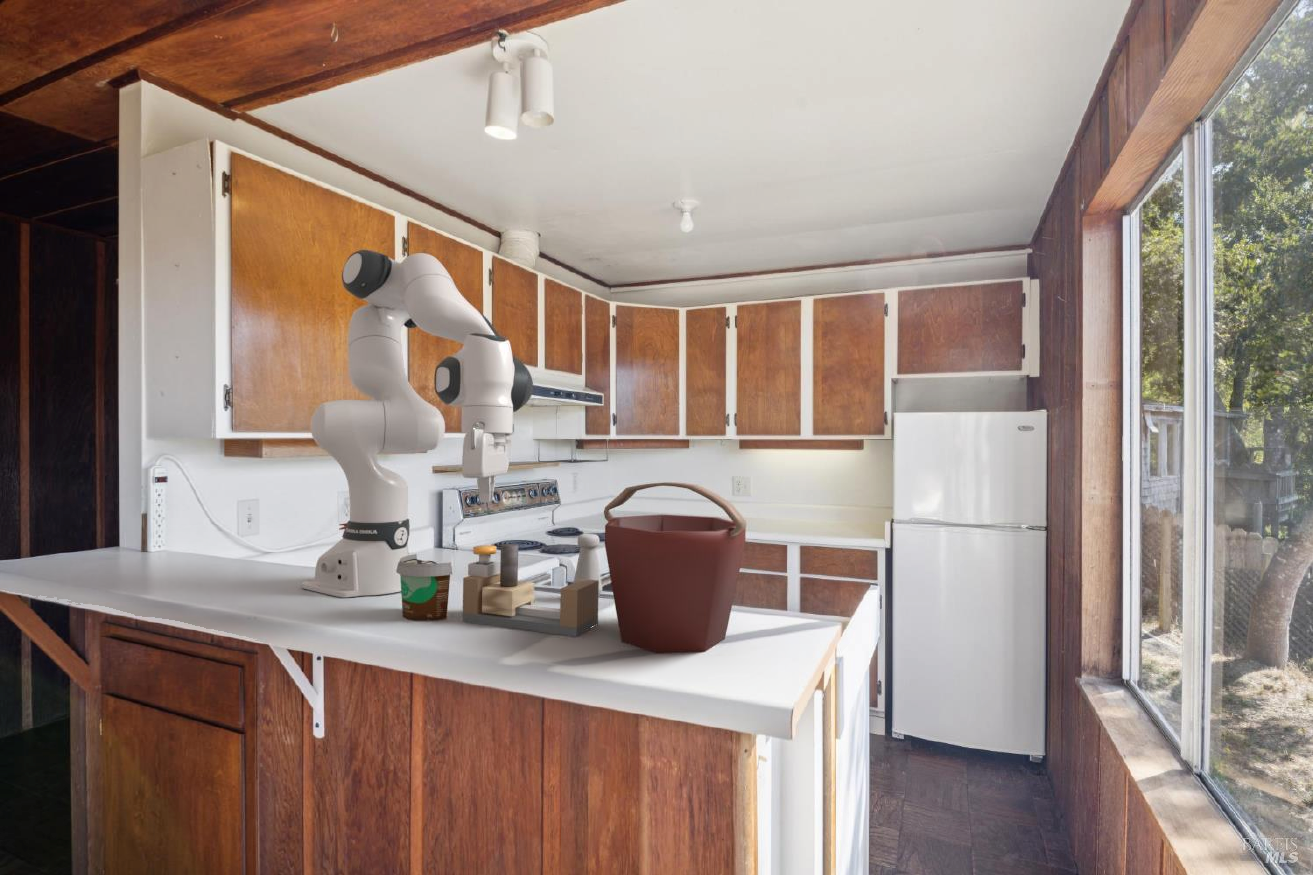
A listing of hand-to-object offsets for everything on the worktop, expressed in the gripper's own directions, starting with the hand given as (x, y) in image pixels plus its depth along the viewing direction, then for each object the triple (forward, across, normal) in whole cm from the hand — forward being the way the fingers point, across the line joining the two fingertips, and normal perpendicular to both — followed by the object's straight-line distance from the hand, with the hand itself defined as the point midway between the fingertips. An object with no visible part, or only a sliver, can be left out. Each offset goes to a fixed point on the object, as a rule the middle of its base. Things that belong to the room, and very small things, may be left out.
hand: (486, 501), depth 115 cm
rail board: (+20, -3, -8) cm, 22 cm away
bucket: (+21, -10, -33) cm, 40 cm away
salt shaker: (+21, +13, -17) cm, 30 cm away
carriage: (+19, -1, -4) cm, 19 cm away
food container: (+20, 0, +12) cm, 24 cm away
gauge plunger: (+11, 0, 0) cm, 11 cm away
